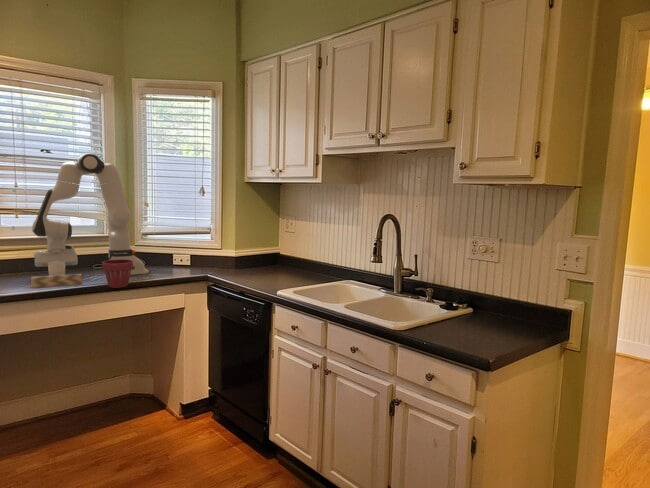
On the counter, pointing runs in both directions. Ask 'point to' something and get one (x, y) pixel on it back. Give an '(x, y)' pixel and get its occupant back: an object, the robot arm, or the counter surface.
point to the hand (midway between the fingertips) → (56, 271)
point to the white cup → (56, 268)
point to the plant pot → (117, 272)
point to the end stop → (56, 280)
